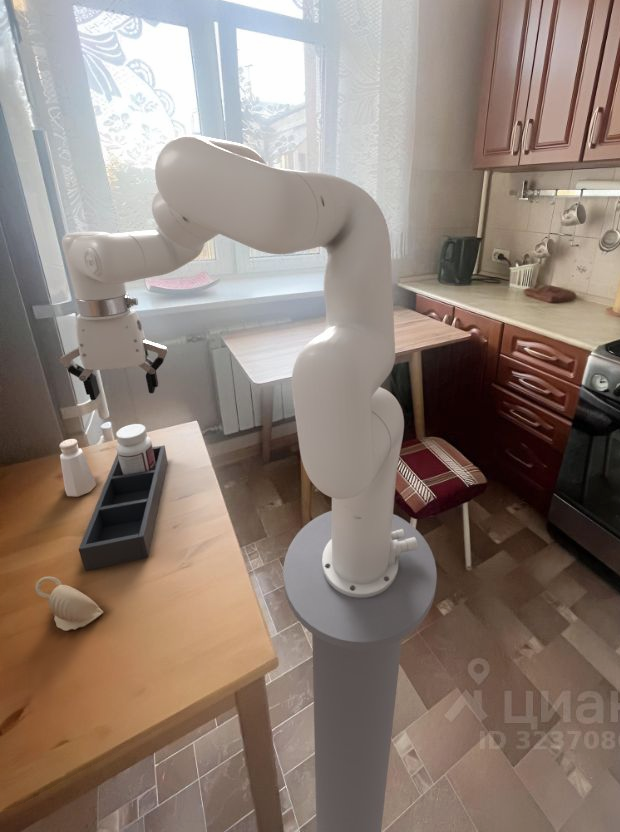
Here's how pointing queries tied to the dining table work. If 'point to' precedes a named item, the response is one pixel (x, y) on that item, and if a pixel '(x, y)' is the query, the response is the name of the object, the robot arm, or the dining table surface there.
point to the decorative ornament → (69, 605)
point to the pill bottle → (135, 449)
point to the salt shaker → (75, 469)
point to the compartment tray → (124, 515)
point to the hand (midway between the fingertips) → (124, 393)
